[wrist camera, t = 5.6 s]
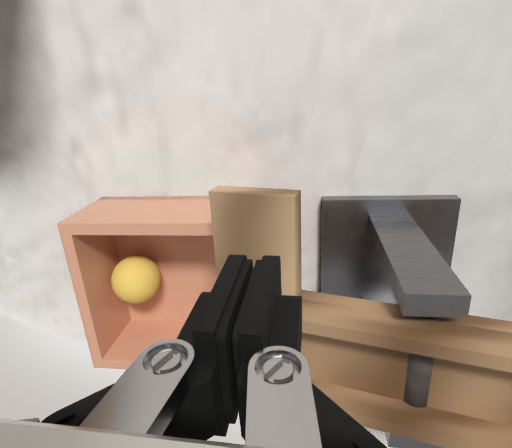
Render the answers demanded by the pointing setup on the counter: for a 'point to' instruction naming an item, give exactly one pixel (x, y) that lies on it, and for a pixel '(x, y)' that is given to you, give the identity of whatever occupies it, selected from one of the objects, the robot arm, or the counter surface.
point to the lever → (378, 339)
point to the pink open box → (142, 244)
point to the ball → (136, 279)
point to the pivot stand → (394, 258)
